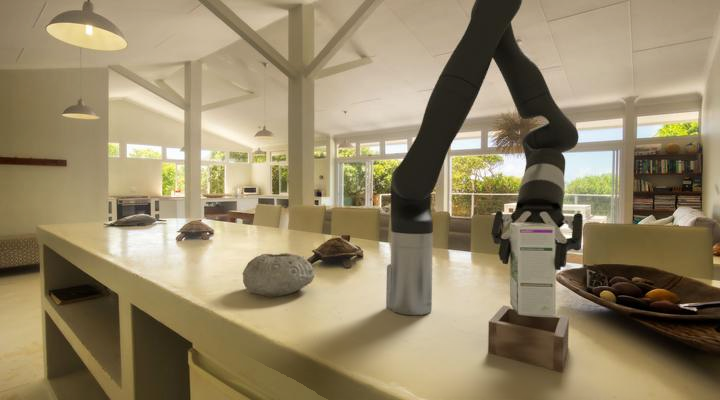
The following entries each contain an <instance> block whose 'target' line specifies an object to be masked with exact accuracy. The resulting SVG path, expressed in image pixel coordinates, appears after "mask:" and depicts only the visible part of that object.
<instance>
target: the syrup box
mask: <svg viewBox="0 0 720 400" xmlns="http://www.w3.org/2000/svg"><path fill="white" fill-rule="evenodd" d="M509 223H510V224H509V227H510V256H509V261H510V262H509V264H510V265H509V266H510V267H509V272H510V273H509V275H510V277H509V279H510V283H509V286H510V287H509V289H510V290H509V292H510V296H509V297H510V302H509V304H510V305H511V307H513V308H514V309H515V311H516V312H517V313H518V314H519V315H525V316H536V317H555V316H556V315H557V314H556V309H557V308H556V299H557V295H556V284H557V281H556V270H555V253H556V245H555V226H552V225H547V224H543V223H532V222H523V223H512V222H509Z"/></svg>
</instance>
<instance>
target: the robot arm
mask: <svg viewBox="0 0 720 400" xmlns="http://www.w3.org/2000/svg"><path fill="white" fill-rule="evenodd" d="M522 1H523V0H475V1H474V3H473V6H472V8H471V10H470V11H471V12H470V20H469V23H468V25H467V28H466V29H465V31H464V33H463V35H462V37H461V39H460V41H459V42H458V44H457V45H456V47H455V48H454V50H453V51H452V53H451V55H450V56H449V59H448V61H447V62H446V63H445V65H444V67H443V69H442V71H441V73H440V75H439V76H438V79H437V80H436V83H435V85H434V87H433V89H432V91H431V93H430V96H429V99H428V101H427V104H426V107H425V110H424V113H423V117H422V120H421V124H420V127H419V130H418V133H417V134H416V137H415V138H414V141H413V143H412V145H411V146H410V147H409V149H408V151H407V152H406V154H405V156H404V157H403V159H402V161H401V162H400V163H399V164H398V166H396V168H395V169H394V170H393V172H392V175H391V179H390V224H391V225H390V226H391V227H390V228H391V229H390V232H391V233H390V264H387V266H386V288H385V289H386V293H385V294H386V296H385V300H386V305H385V308H387V309H390V310H391V311H392V312H395V313H398V314H400V315H408V316H422V315H427V314H430V313H431V312H432V307H433V306H432V305H433V255H434V254H433V252H434V251H433V249H434V248H433V247H434V245H433V244H434V243H433V241H434V221H433V217H432V203H431V201H432V197H431V196H432V193H433V192H434V190H435V188H436V186H437V183H438V180H439V177H440V175H441V174H440V173H441V171H442V167H443V165H444V163H445V160H446V158H447V154H448V152H449V150H450V148H451V145H452V143H453V141H454V140H455V138H456V137H457V135H458V133H459V132H460V130H461V129H462V127H463V125H464V123H465V121H466V119H467V117H468V115H469V113H470V111H471V110H472V108H473V106H474V104H475V101H476V100H477V97H478V96H479V94H480V93H479V92H480V90H481V89H482V85H483V83H484V81H485V79H486V76H487V74H488V70H489V69H490V66H491V63H492V60H493V61H494V63H495V65H496V66H497V67H498V70H499V71H500V73H501V76H502V78H503V80H504V82H505V84H506V87H507V88H508V91H509V94H510V96H511V99H512V101H513V103H514V106H515V108H516V111H517V114H518V115H519V117H520V118H521V119H523V120H529V119H534V118H537V117H543V118H545V119H546V120H547V121H548V122H547V123H545V124H543V125H542V124H541V126H538V127H536V128H533V129H531V130H529V131H528V132H526V133H525V135H524V136H523V138H522V139H521V145H522V149H523V152H524V156H525V168H524V172H523V173H524V174H523V176H522V178H521V182H520V184H519V185H520V186H519V189H518V190H519V191H518V194H517V195H518V196H517V199H516V200H517V201H516V205H515V209H514V211H513V212H512V213H511V214H506V213H505V214H504V213H503V211H502V210H499V211H498V210H497V211H496V212H495V214H494V220H493V224H492V228H491V237H492V241H493V243H494V244H495V245H499V248H498V257H499V260H500V261H502V262H501V263H502V264H503V265H508V264H509V261H510V226H509V228H508V229H507V230H506V231H505V232H504V231H503V230H504V228H505V227H507V226H508V224H509V223H523V222H532V223H543V224H547V225H552V226H555V271H561V270H562V269H561V268H565V267H566V266H567V255H568V252H569V251H571V250H574V251H580V250H582V242H583V229H584V227H583V226H584V223H583V222H584V221H583V220H584V216H583V214H582V213H581V212H580V213H579V212H577V213H575V214H574V215H573V216H568V215H564V214H563V208H564V197H565V193H566V192H565V188H566V187H565V185H566V184H565V171H566V158H565V156H564V154H563V153H565V152H568V151H571V150H573V149H574V148H575V147H576V146H577V145H578V142H579V132H578V129H577V128H576V126H575V124H573V122H572V121H571V120H570V119H569V118H568V117H567V116H566V114H565V113H564V112H563V111H562V110H561V108H560V107H559V106H558V104H557V103H556V102H555V99H554V98H553V96H552V93H551V92H550V89H549V87H548V84H547V82H546V80H545V77H544V75H543V73H542V71H541V69H540V68H539V67H538V65H537V63H535V62H534V61H533V60H532V59H531V58H530V57H529V56H528V55H527V54H526V53H525V52H524V51H523V49H522V48H521V47H520V45H519V43H518V41H517V40H516V37H515V34H514V30H513V25H512V21H513V20H514V18H515V16H516V15H517V14H518V12H519V10H520V9H521V6H522V3H523V2H522ZM564 225H567V226H568V229H570V230H571V231H572V232H571V237H569V238H568V237H565V235H564V234H563V232H562V231H561V229H560V228H562V227H563V226H564Z"/></svg>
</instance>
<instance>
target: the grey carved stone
mask: <svg viewBox="0 0 720 400" xmlns="http://www.w3.org/2000/svg"><path fill="white" fill-rule="evenodd" d="M314 278H315V270H314V268H313V266H312V263H311V262H309V261H308V259H306V258H305V256H301V255H298V254H293V253H288V252H287V253H286V252H285V253H278V254H277V253H274V254H273V253H261V254H260V255H257V256H255V257H254V258H252V259H251V260H249V262H247V264H246V266H245V268H244V269H243V272H242V283H243V284H244V287H245V288H246V289H247V291H249V292H250V293H252V294H255V295H260V296H264V297H268V296H269V297H281V296H285V295H288V294H290V293H295V292H297V291H298V290H301V289H304V288H305V287H306V286H307V287H308V285H309V284H312V282H313V280H314Z"/></svg>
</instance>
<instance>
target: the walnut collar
mask: <svg viewBox="0 0 720 400" xmlns="http://www.w3.org/2000/svg"><path fill="white" fill-rule="evenodd" d="M569 319H570V317H569V316H563V315H557V314H556V316H555V317H536V316H525V315H519V314H518V313H517V312H516V311H515V309H514V308H513V307H512V306H508V305H502V306H501V308H499V310H498V311H497V312H496V313H495V314H494V315H493V316H492V317H491V318H490V319H489V320H488V336H487V337H488V340H487V348H488V349H487V352H488V353H489V354H493V355H497V356H502V357H504V358H508V359H513V360H516V361H520V362H524V363H527V364H531V365H534V366H539V367H542V368H545V369H550V370H554V371H556V372H561V373H562V372H564V368H565V363H566V358H567V353H568V351H569V350H568V349H569V327H570V322H569V321H570V320H569Z"/></svg>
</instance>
